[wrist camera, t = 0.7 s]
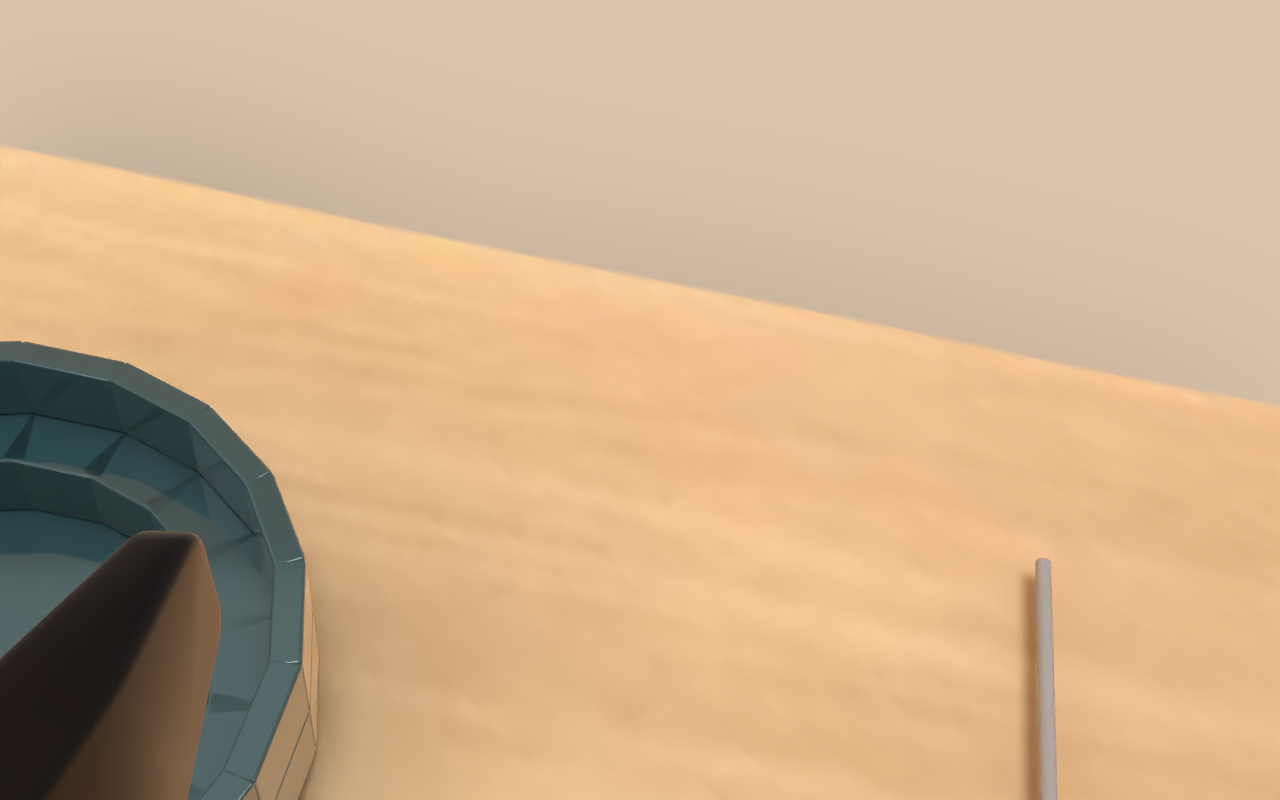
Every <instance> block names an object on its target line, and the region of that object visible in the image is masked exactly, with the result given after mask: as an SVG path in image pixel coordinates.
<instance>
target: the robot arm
mask: <svg viewBox="0 0 1280 800" xmlns="http://www.w3.org/2000/svg"><path fill="white" fill-rule="evenodd" d="M220 628H221V609H220V603H219V599H218V595H217V592H216V588H215V584H214V581H213V577H212V573H211V569H210V566H209V562H208V558H207V554H206V551H205V547H204V545H203V542H202V540H201V539H200V538H199V537H198V536H197V535H196V534H193V533H189V532H170V531H143V532H140V533H137V534H136V535H134V536H132V537H131V538H129V539H128V540H127V541H126V542H125V543H124V544H123V545H122V546H121V547H119V548H118V549H117V550H116V551H115V552H114V553H113V554H112V555H111V556H110V557H109V558H108V559H107V560H105V561H104V562H103V563H102V564H101V565H100V566H99V567H98V568H97V569H96V570H95V571H94V572H93V573H91V574H90V575H89V576H88V577H87V578H86V579H85V580H84V581H83V582H82V583H81V584H80V585H79V586H77V587H76V588H75V589H74V590H73V591H72V592H71V593H70V594H69V595H68V596H67V597H66V598H65V599H63V600H62V601H61V602H60V603H59V604H58V605H57V606H56V607H55V608H54V609H53V610H52V611H51V612H49V613H48V614H47V615H46V616H45V617H44V618H43V619H42V620H41V621H40V622H39V623H38V624H37V625H35V626H34V627H33V628H32V629H31V630H30V631H29V632H28V633H27V634H26V635H25V636H24V637H23V638H21V639H20V640H19V641H18V642H17V643H16V644H15V645H14V646H13V647H12V648H11V649H10V650H9V651H7V652H6V653H5V654H4V655H3V656H2V657H1V658H0V800H188V794H189V789H190V784H191V779H192V774H193V769H194V764H195V759H196V754H197V749H198V744H199V739H200V734H201V729H202V723H203V718H204V713H205V708H206V703H207V698H208V693H209V688H210V683H211V678H212V673H213V668H214V663H215V657H216V652H217V647H218V642H219V637H220Z"/></svg>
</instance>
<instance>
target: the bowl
mask: <svg viewBox="0 0 1280 800" xmlns="http://www.w3.org/2000/svg"><path fill="white" fill-rule="evenodd" d="M143 531H170V532H189V533H193V534H196V535H197V536H198V537H199V538H200V539H201V540H202V542H203V545H204V547H205V551H206V554H207V558H208V562H209V566H210V569H211V573H212V577H213V581H214V584H215V588H216V592H217V595H218V599H219V603H220V609H221V628H220V637H219V642H218V647H217V652H216V657H215V663H214V668H213V673H212V678H211V683H210V688H209V693H208V698H207V703H206V708H205V713H204V718H203V723H202V729H201V734H200V739H199V744H198V749H197V754H196V759H195V764H194V769H193V774H192V779H191V784H190V789H189V794H188V800H298V798H299V796H300V793H301V790H302V788H303V785H304V782H305V779H306V777H307V774H308V771H309V769H310V766H311V763H312V760H313V758H314V755H315V747H316V745H317V702H318V660H319V652H318V644H317V637H316V630H315V623H314V616H313V609H312V601H311V594H310V587H309V580H308V573H307V566H306V560H305V556H304V553H303V551H302V548H301V545H300V543H299V540H298V537H297V535H296V532H295V529H294V527H293V524H292V521H291V519H290V516H289V513H288V511H287V508H286V505H285V503H284V500H283V498H282V495H281V492H280V490H279V487H278V484H277V482H276V479H275V476H274V475H273V474H272V472H271V470H270V469H269V468H268V467H267V466H266V465H265V464H264V463H263V462H262V461H261V460H260V459H259V458H258V457H257V455H256V454H255V453H254V452H253V451H252V450H251V449H250V448H249V447H248V446H247V445H246V444H245V443H244V442H243V441H242V439H241V438H240V437H239V436H238V435H237V434H236V433H235V432H234V431H233V430H232V429H231V428H230V427H229V426H228V425H227V423H226V422H225V421H224V420H223V419H222V418H221V417H220V416H219V415H218V414H217V413H216V412H215V411H214V410H213V409H212V408H210V406H209V405H208V404H206V403H204V402H202V401H200V400H198V399H196V398H194V397H192V396H190V395H188V394H186V393H184V392H182V391H181V390H179V389H177V388H175V387H173V386H171V385H169V384H167V383H165V382H163V381H161V380H159V379H157V378H155V377H154V376H152V375H150V374H148V373H146V372H144V371H142V370H140V369H138V368H136V367H134V366H132V365H130V364H128V363H124V362H121V361H117V360H112V359H107V358H102V357H97V356H92V355H88V354H83V353H78V352H73V351H68V350H64V349H59V348H54V347H49V346H44V345H39V344H35V343H30V342H23V343H22V342H21V341H0V658H1V657H2V656H3V655H4V654H5V653H6V652H7V651H9V650H10V649H11V648H12V647H13V646H14V645H15V644H16V643H17V642H18V641H19V640H20V639H21V638H23V637H24V636H25V635H26V634H27V633H28V632H29V631H30V630H31V629H32V628H33V627H34V626H35V625H37V624H38V623H39V622H40V621H41V620H42V619H43V618H44V617H45V616H46V615H47V614H48V613H49V612H51V611H52V610H53V609H54V608H55V607H56V606H57V605H58V604H59V603H60V602H61V601H62V600H63V599H65V598H66V597H67V596H68V595H69V594H70V593H71V592H72V591H73V590H74V589H75V588H76V587H77V586H79V585H80V584H81V583H82V582H83V581H84V580H85V579H86V578H87V577H88V576H89V575H90V574H91V573H93V572H94V571H95V570H96V569H97V568H98V567H99V566H100V565H101V564H102V563H103V562H104V561H105V560H107V559H108V558H109V557H110V556H111V555H112V554H113V553H114V552H115V551H116V550H117V549H118V548H119V547H121V546H122V545H123V544H124V543H125V542H126V541H127V540H128V539H129V538H131V537H132V536H134V535H136V534H137V533H140V532H143Z"/></svg>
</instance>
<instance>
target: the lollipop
mask: <svg viewBox="0 0 1280 800" xmlns="http://www.w3.org/2000/svg"><path fill="white" fill-rule="evenodd" d="M1036 617H1037V675H1038V733H1039V792H1040V800H1057V767H1056V731H1055V695H1054V659H1053V623H1052V587H1051V562H1050V560H1048V559H1046V558H1040V559H1037V560H1036Z"/></svg>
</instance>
